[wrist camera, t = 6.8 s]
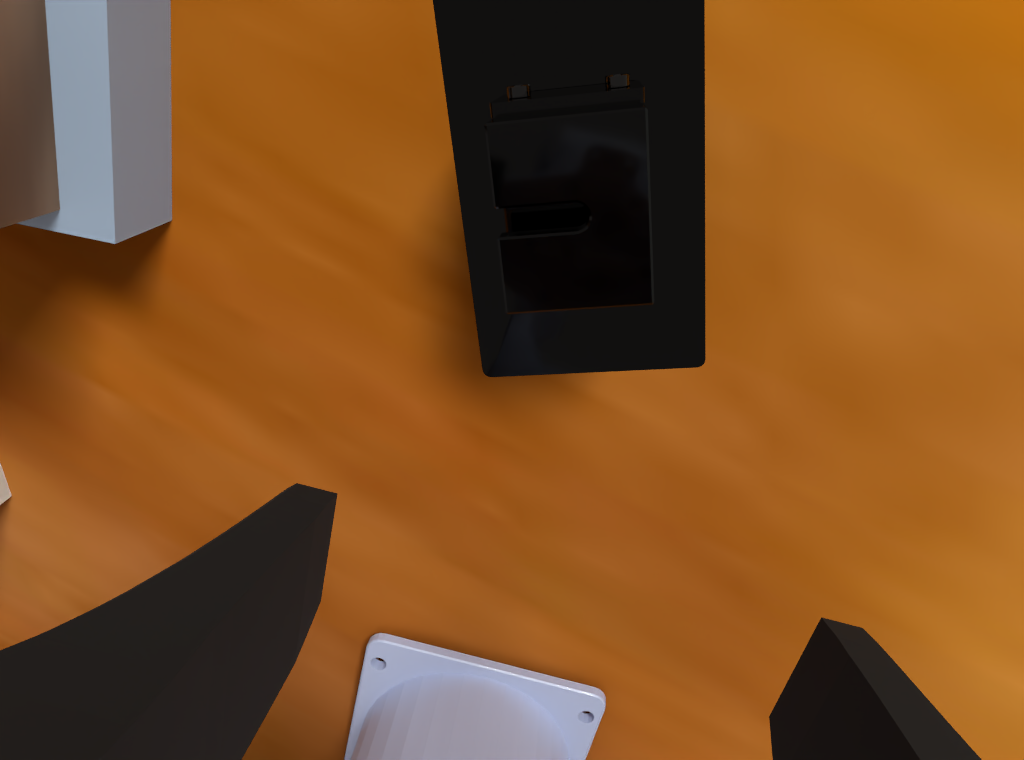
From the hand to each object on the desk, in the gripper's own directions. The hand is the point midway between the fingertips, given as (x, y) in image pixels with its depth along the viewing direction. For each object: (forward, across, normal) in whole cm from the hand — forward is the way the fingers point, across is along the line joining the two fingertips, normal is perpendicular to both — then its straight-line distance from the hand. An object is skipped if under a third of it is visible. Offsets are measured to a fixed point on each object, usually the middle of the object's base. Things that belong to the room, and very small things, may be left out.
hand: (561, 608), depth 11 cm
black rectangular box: (+11, +1, -4) cm, 12 cm away
